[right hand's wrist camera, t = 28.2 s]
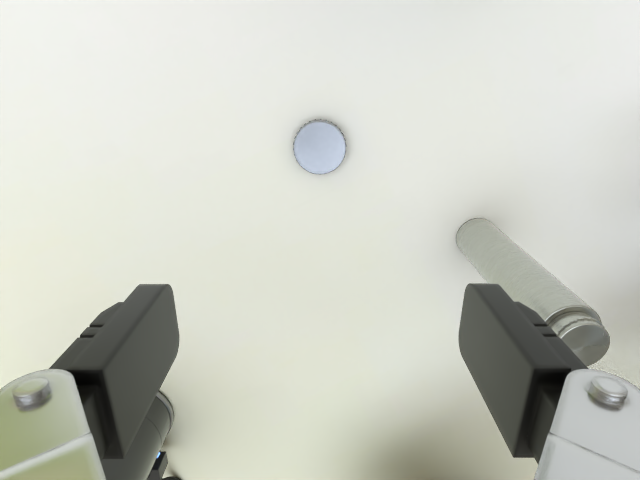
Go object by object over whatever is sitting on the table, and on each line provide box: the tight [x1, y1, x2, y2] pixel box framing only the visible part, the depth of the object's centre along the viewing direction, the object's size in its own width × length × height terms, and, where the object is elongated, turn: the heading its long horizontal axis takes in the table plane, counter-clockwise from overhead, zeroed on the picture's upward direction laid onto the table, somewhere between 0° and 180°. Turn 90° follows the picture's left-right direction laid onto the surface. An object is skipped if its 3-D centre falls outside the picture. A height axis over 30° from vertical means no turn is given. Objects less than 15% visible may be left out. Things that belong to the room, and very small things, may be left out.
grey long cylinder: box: [456, 218, 610, 366], centre depth 33 cm, size 4×4×18 cm
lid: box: [293, 119, 346, 174], centre depth 38 cm, size 5×5×2 cm
